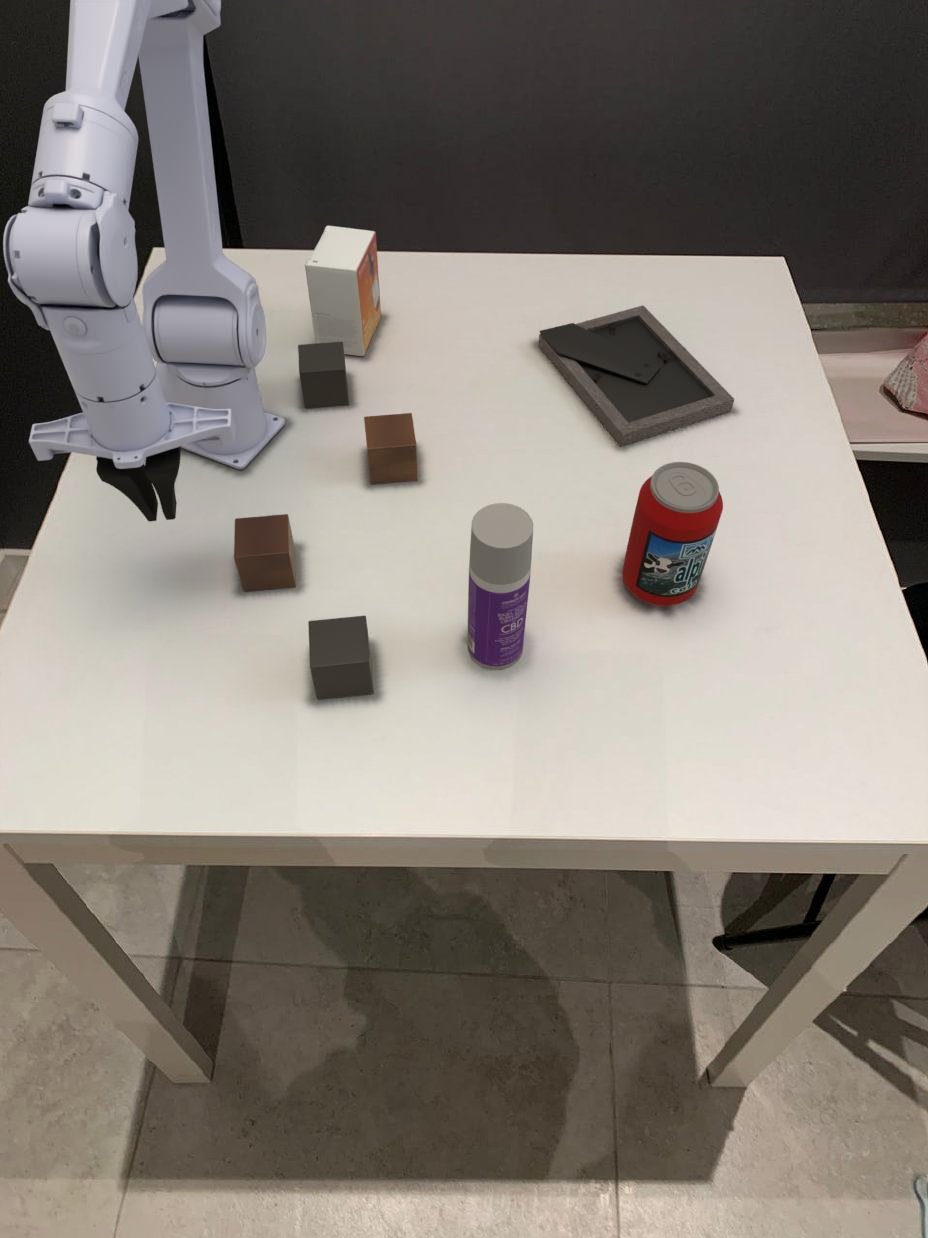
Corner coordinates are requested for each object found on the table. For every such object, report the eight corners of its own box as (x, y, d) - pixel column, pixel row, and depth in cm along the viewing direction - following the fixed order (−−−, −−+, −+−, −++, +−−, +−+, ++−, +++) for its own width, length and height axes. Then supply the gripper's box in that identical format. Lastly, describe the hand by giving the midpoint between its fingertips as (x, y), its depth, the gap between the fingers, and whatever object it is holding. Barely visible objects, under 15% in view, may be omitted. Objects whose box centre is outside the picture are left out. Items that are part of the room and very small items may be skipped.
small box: (364, 358, 102) (356, 271, 94) (315, 351, 103) (303, 264, 94) (382, 315, 107) (377, 229, 98) (335, 309, 107) (326, 223, 99)
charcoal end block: (304, 408, 97) (299, 372, 93) (303, 380, 100) (298, 344, 96) (349, 405, 97) (345, 368, 94) (346, 377, 100) (342, 340, 96)
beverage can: (648, 622, 80) (674, 527, 71) (605, 569, 84) (625, 471, 74) (712, 594, 82) (746, 498, 73) (667, 543, 86) (694, 445, 76)
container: (504, 679, 77) (514, 559, 65) (456, 654, 78) (457, 532, 66) (533, 640, 79) (547, 517, 67) (485, 616, 80) (491, 492, 68)
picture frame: (538, 345, 104) (620, 446, 94) (539, 330, 102) (623, 431, 92) (640, 316, 107) (731, 411, 97) (643, 301, 105) (735, 395, 96)
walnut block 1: (243, 592, 82) (233, 557, 78) (244, 553, 85) (234, 518, 81) (296, 587, 82) (288, 552, 79) (295, 548, 85) (287, 513, 81)
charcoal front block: (316, 700, 75) (309, 667, 71) (314, 653, 78) (308, 620, 74) (373, 694, 76) (369, 661, 72) (369, 648, 78) (365, 614, 75)
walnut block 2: (370, 484, 90) (367, 448, 86) (367, 452, 93) (363, 416, 89) (417, 480, 90) (416, 444, 87) (413, 448, 93) (411, 412, 90)
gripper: (-3, 422, 62) (64, 556, 73) (217, 405, 64) (251, 539, 74) (14, 356, 67) (75, 492, 77) (220, 342, 68) (252, 478, 79)
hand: (162, 511), depth 76 cm, fingers closed
